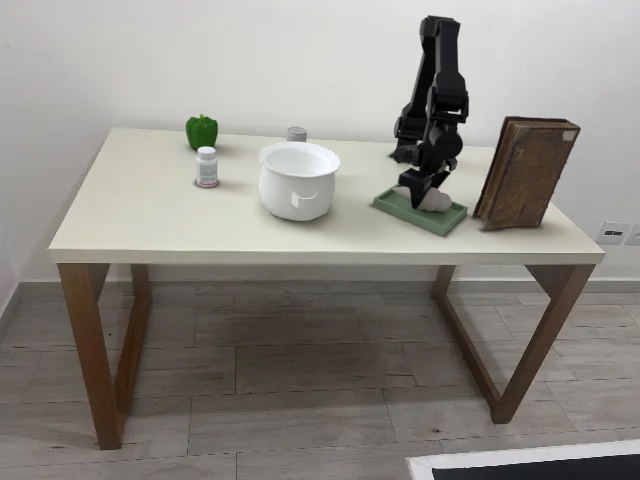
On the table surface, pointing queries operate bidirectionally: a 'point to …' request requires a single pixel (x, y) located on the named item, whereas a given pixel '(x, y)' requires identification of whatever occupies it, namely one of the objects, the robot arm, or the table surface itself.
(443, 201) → the ice cream cone
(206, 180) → the pill bottle
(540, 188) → the book
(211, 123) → the bell pepper
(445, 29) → the robot arm
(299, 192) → the pot
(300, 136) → the beverage can
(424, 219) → the tray
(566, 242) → the table surface
